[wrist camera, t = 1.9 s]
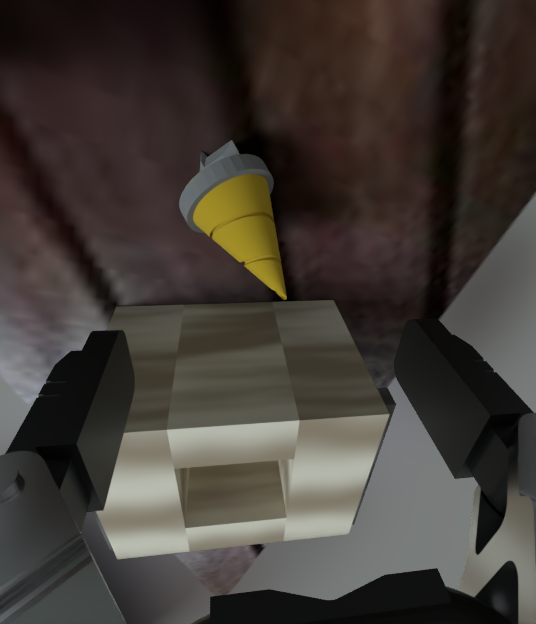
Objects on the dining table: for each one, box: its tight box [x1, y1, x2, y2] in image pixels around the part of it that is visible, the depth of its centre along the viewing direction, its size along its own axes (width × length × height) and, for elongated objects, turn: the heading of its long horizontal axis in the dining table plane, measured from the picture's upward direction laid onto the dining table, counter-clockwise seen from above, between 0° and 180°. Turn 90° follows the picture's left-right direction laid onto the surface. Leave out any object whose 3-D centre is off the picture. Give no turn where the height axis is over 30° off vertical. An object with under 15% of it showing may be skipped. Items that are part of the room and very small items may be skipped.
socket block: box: [93, 300, 396, 559], centre depth 26 cm, size 13×17×11 cm
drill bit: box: [179, 140, 287, 300], centre depth 20 cm, size 5×5×10 cm
